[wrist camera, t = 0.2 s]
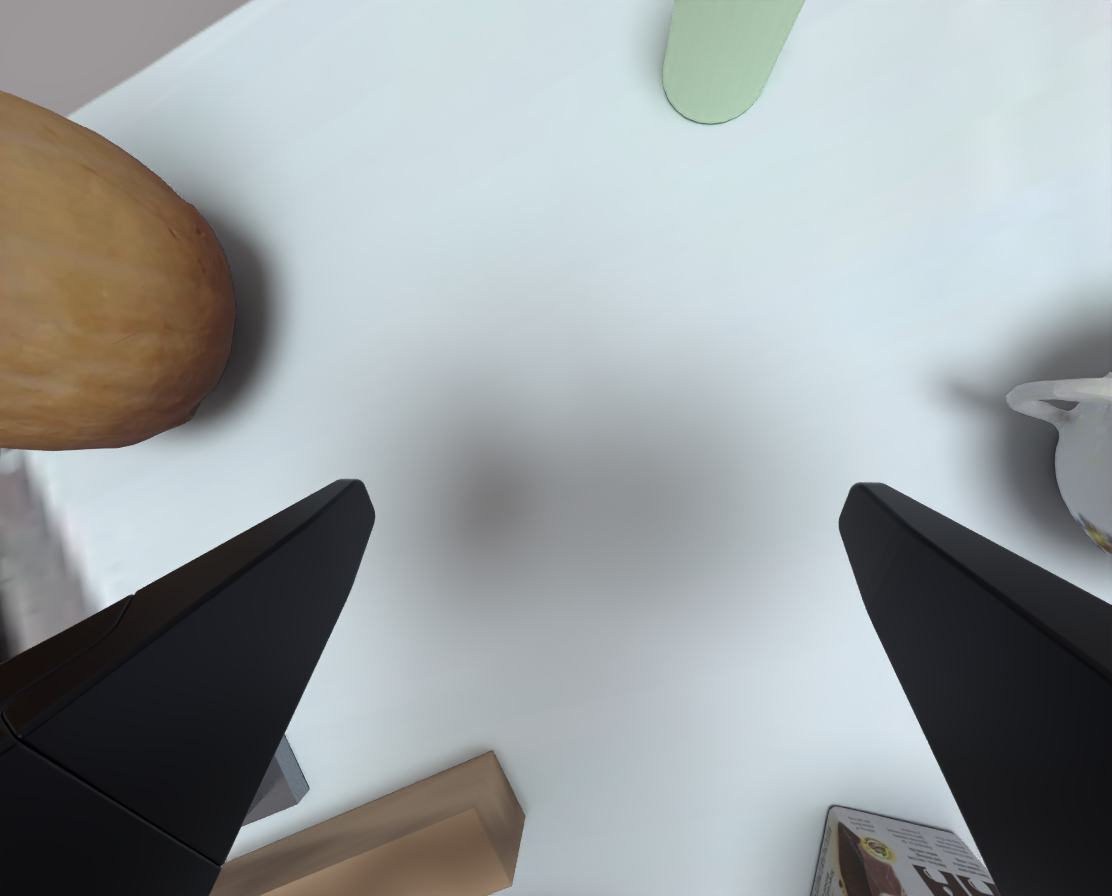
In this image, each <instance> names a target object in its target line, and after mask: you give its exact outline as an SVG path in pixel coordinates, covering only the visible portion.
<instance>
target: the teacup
mask: <svg viewBox="0 0 1112 896" xmlns="http://www.w3.org/2000/svg"><path fill="white" fill-rule="evenodd" d="M1049 399H1058V400H1066V401H1076V402H1079V403H1078V405H1077V406H1076V407H1075V408H1074V409H1072V410H1070V411H1066V410H1063V409H1059V408H1056V407H1053V406H1052V405H1050V404H1049V403H1046V402H1043V401H1040V400H1049ZM1006 401H1007V403H1008V405H1009V407H1010V408H1011V409H1012V410H1014V411H1017V412H1020V413H1022V414H1025V415H1027V416H1031V417H1035V418H1038V419H1041V420H1044V421H1046V422H1049V423H1051V424H1053V425H1054V426H1056V428H1057V429H1058V431H1059V440H1058V444H1057V447H1056V451H1055V470H1056V478H1057V482H1058V486H1059V489H1060V492H1061V495H1062V498H1063V500H1064V501H1065V503H1066V505H1067V507H1068V509H1069V511H1070V513H1071V514H1072V516H1073V517H1074V518H1075V520H1076V521H1077V522H1078V524H1079V525H1080V526H1081V528H1082V529H1083V530H1084V531H1085V533H1086V534H1087V535H1088V536H1089V537H1090V538H1091V539H1092V541H1093V542H1094V543H1095V544H1096V545H1097V546H1098V547H1099V548H1100V549H1101V550H1103V551H1104V552H1105V553H1106V554H1107V555H1109V556H1110V557H1111V558H1112V371H1111V372H1109V373H1108V374H1107V375H1106V376H1104V377H1103V378H1079V379H1065V380H1044V381H1036V382H1028V383H1024V384H1021V385H1017V386H1015V387H1014V388H1013V389H1012V390H1011V391H1010V392H1009V393H1008V394H1007V395H1006Z"/></svg>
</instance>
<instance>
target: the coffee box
mask: <svg viewBox="0 0 1112 896" xmlns="http://www.w3.org/2000/svg"><path fill="white" fill-rule="evenodd" d="M812 896H1000V895H999V893H998V891H997V888H996V886H995V884H994V882H993V880H992V878H991V876H990V873H989V872H988V870H987V869H986V868H985V867H984V866H983V865H982V863H981V862H980V861H979V860H978V859H977V858H976V857H975V856H974V854H973V853H972V852H971V851H970V849H969V848H968V847H967V846H966V845H965V844H964V842H963V841H962V840H961V839H960V838H959V837H958V836H957V835H955V834H952V833H949V832H944V831H940V830H936V829H932V828H928V827H923V826H919V825H914V824H910V823H906V822H902V821H898V820H893V819H889V818H885V817H881V816H876V815H872V814H868V813H864V812H859V811H855V810H851V809H846V808H842V807H837V806H835V807H833V808H832V809H830V811H829V816H828V820H827V824H826V829H825V834H824V839H823V844H822V849H821V854H820V859H819V863H818V868H817V873H816V877H815V882H814V887H813V892H812Z"/></svg>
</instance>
